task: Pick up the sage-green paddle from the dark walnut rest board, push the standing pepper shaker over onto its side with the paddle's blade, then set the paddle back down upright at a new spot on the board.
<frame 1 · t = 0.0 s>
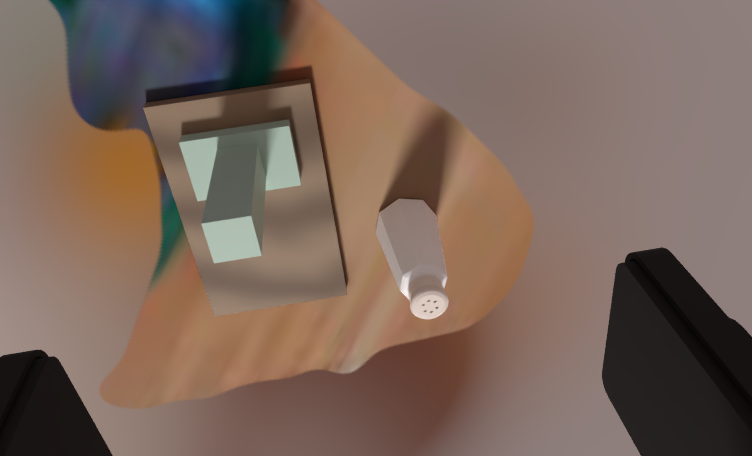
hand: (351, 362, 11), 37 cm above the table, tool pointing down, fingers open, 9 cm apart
pepper shaker: (405, 221, 54), on the table
rest board: (257, 205, 51), on the table
paddle: (242, 157, 47), point 1 cm above the table, touching rest board
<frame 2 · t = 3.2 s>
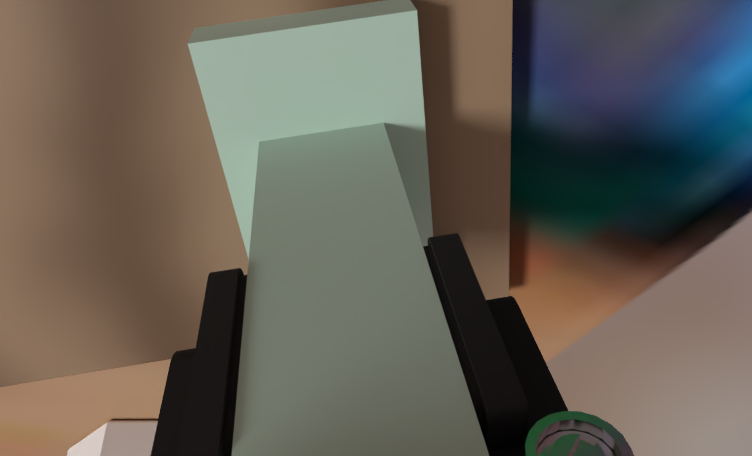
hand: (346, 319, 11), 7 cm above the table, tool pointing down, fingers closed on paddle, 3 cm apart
rest board: (148, 175, 17), on the table
paddle: (328, 164, 17), point 1 cm above the table, touching gripper, rest board
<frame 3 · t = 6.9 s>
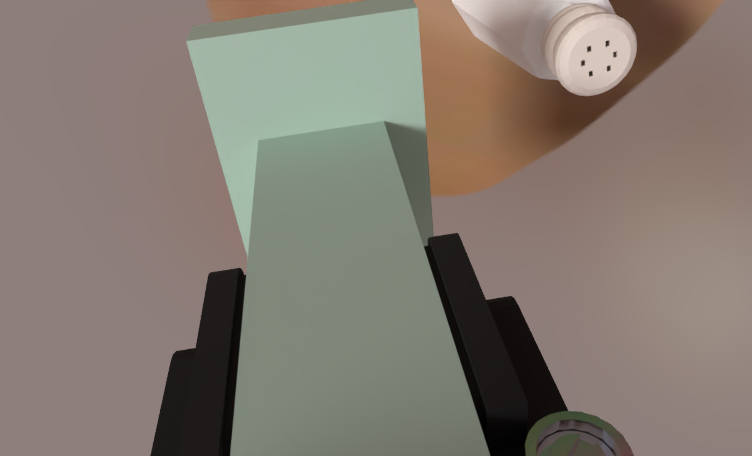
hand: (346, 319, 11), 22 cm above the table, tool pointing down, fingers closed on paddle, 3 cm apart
paddle: (328, 162, 17), point 16 cm above the table, touching gripper
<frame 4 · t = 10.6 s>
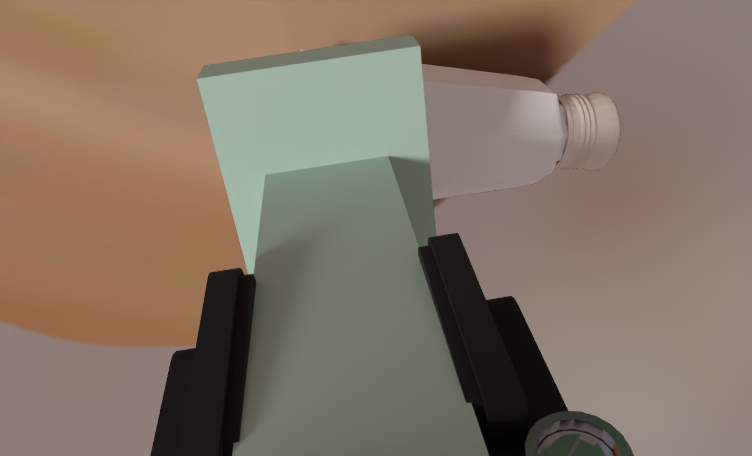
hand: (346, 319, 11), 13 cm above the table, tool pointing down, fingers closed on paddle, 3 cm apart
pepper shaker: (293, 135, 20), point 3 cm above the table
paddle: (333, 198, 17), point 7 cm above the table, touching gripper
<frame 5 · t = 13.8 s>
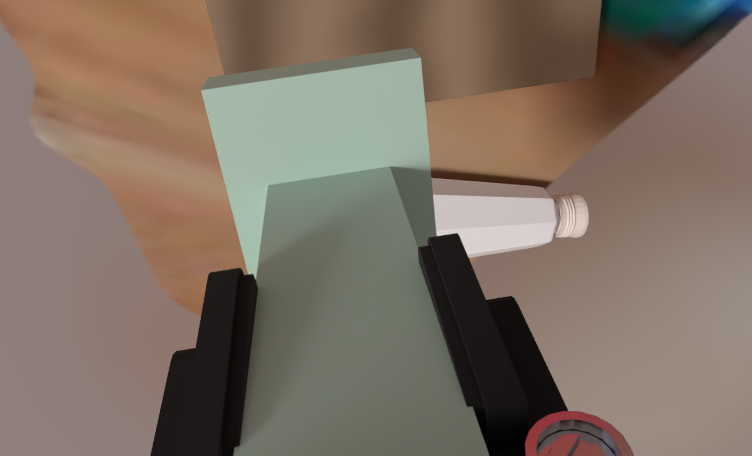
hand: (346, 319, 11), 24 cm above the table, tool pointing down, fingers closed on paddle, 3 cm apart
pepper shaker: (409, 222, 37), point 3 cm above the table
paddle: (336, 209, 17), point 19 cm above the table, tilted 7°, touching gripper
when the fingers open (9 cm above the table, at t = 16.8 s): paddle drops 2 cm, resting on rest board.
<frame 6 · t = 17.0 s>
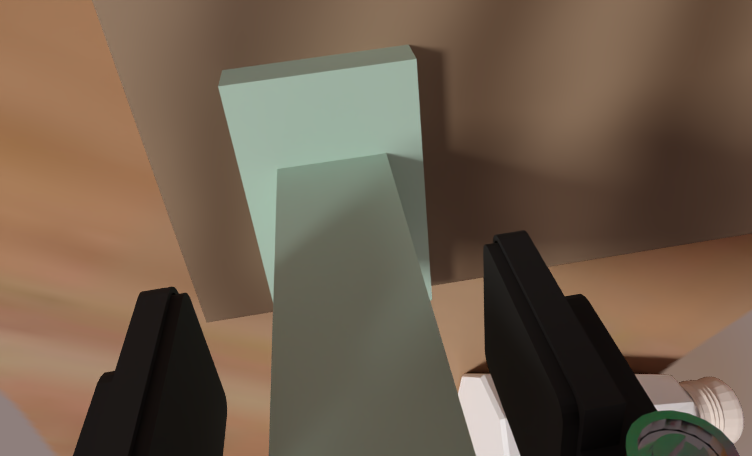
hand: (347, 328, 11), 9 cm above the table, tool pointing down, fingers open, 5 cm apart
pepper shaker: (473, 441, 24), point 3 cm above the table
rest board: (486, 101, 19), on the table
paddle: (336, 186, 19), point 1 cm above the table, touching rest board
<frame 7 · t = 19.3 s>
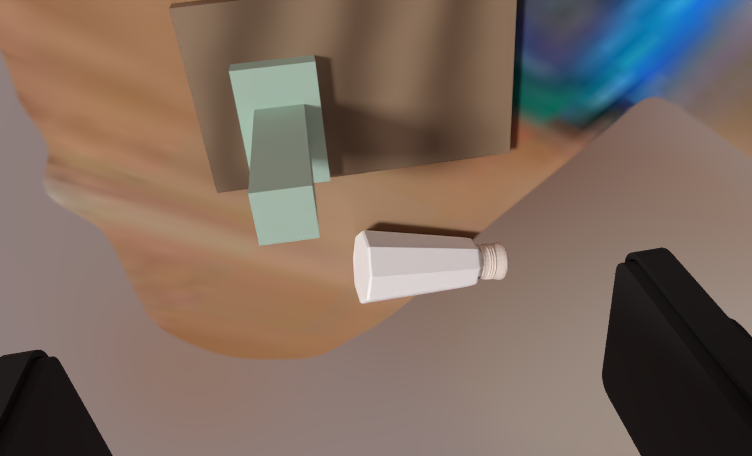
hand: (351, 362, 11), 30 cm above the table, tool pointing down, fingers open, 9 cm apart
pepper shaker: (358, 267, 44), point 3 cm above the table
rest board: (355, 82, 39), on the table
paddle: (282, 121, 39), point 1 cm above the table, touching rest board
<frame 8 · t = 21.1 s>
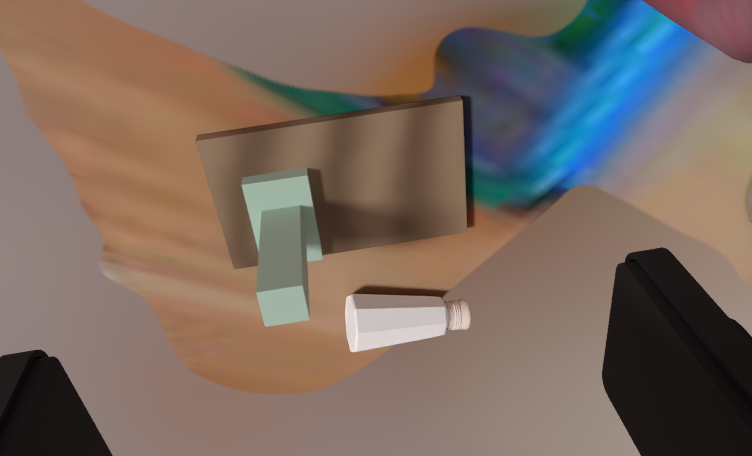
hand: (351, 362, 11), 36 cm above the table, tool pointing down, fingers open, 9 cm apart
pepper shaker: (348, 323, 55), point 3 cm above the table
rest board: (340, 183, 50), on the table
paddle: (284, 216, 50), point 1 cm above the table, touching rest board
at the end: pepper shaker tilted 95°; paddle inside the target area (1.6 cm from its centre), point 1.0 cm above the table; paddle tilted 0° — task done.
